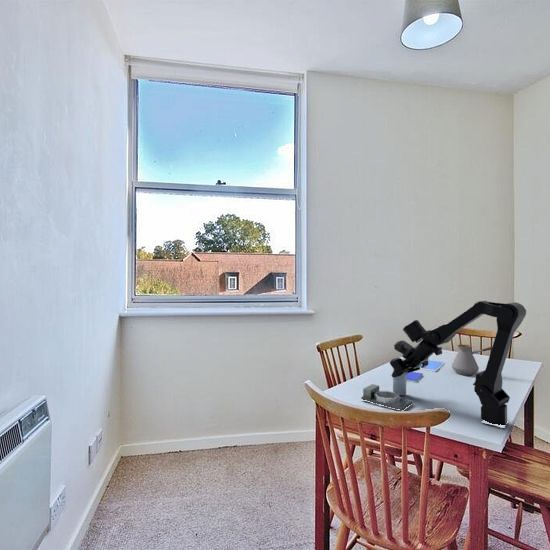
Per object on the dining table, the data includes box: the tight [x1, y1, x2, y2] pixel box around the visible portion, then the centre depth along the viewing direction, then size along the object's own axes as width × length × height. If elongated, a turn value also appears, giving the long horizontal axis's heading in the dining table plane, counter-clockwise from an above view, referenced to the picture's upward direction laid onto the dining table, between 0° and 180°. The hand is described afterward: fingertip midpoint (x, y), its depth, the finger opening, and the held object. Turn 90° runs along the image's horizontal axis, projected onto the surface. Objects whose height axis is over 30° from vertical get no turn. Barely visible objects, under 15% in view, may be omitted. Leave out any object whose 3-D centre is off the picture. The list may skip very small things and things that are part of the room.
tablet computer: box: [420, 359, 445, 373], centre depth 184 cm, size 19×13×1 cm, turn 144°
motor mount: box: [360, 383, 414, 411], centre depth 135 cm, size 16×9×4 cm, turn 46°
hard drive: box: [406, 371, 424, 383], centre depth 165 cm, size 2×8×12 cm
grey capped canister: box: [392, 358, 407, 396], centre depth 143 cm, size 5×5×13 cm
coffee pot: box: [451, 344, 492, 376], centre depth 168 cm, size 21×12×15 cm, turn 53°
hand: (396, 375), depth 144 cm, fingers closed on grey capped canister, 5 cm apart
